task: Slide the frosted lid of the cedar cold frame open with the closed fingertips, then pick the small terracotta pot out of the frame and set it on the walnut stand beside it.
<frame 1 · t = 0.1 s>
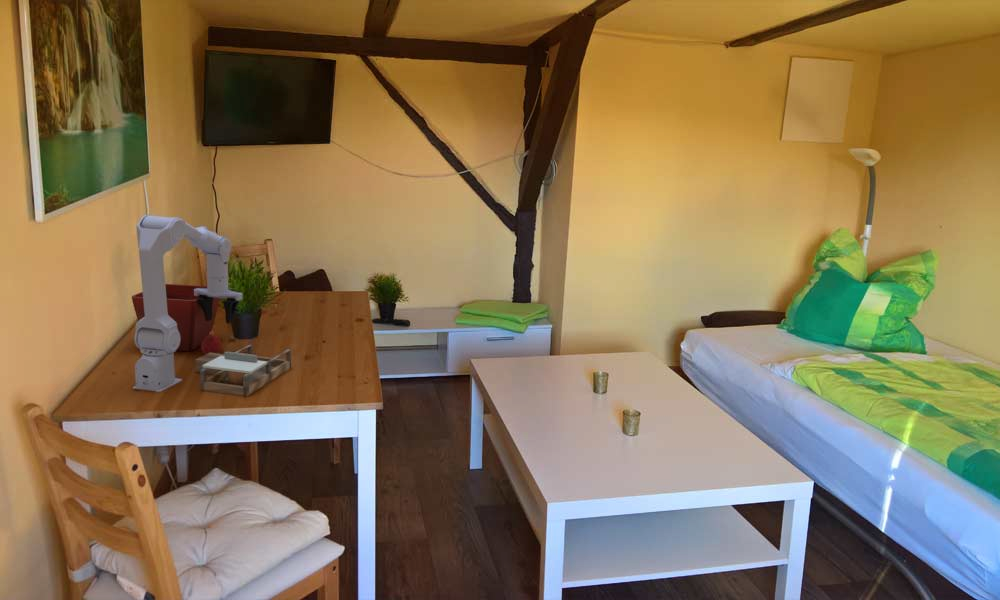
hand: (219, 321, 217), 10 cm above the table, fingers open, 6 cm apart
plant pot: (180, 345, 226), on the table, touching gripper
onion: (212, 358, 216), on the table
stand: (214, 371, 205), on the table
cold frame: (248, 379, 200), on the table
pot: (237, 384, 194), resting on cold frame
lid: (235, 361, 192), point 7 cm above the table, slide at 0.0 cm
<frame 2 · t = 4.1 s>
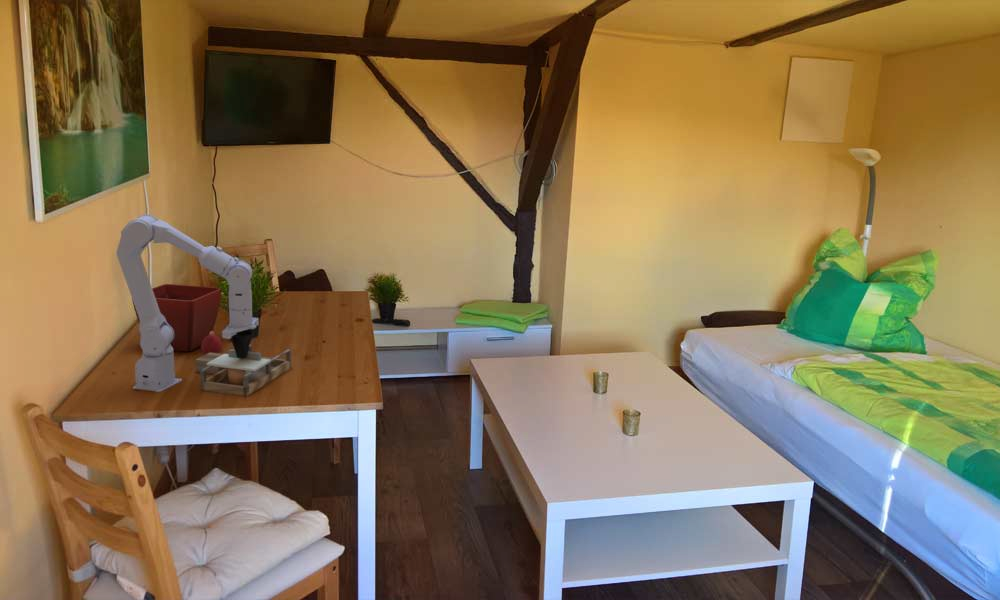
hand: (241, 357, 195), 7 cm above the table, fingers closed
plant pot: (180, 345, 226), on the table
lid: (239, 359, 194), point 7 cm above the table, slide at 1.9 cm, touching gripper
everything else where it was.
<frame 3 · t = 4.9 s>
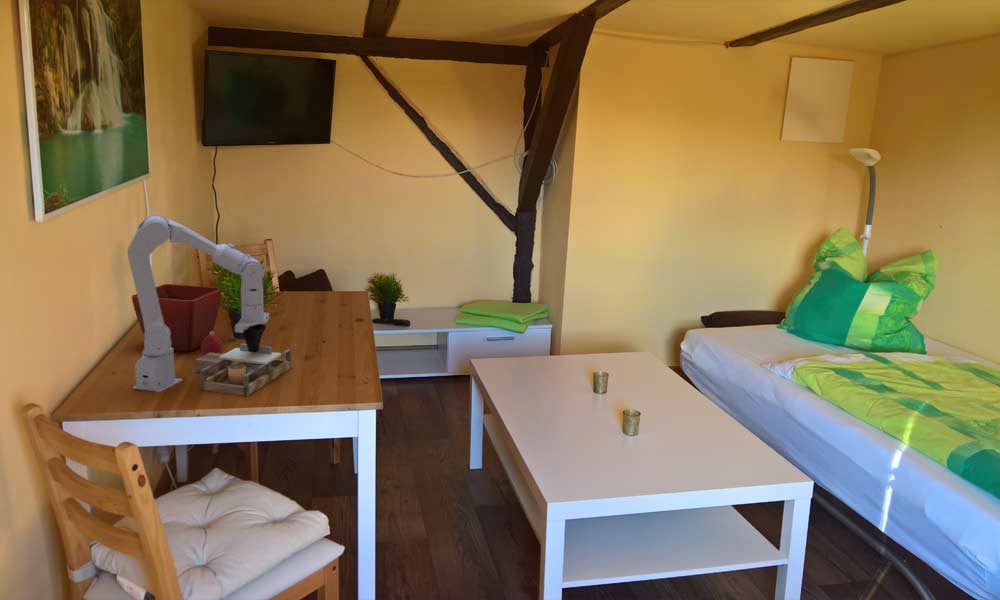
hand: (253, 351, 201), 7 cm above the table, fingers closed
lid: (250, 352, 200), point 7 cm above the table, slide at 7.8 cm, touching gripper
everything else where it was.
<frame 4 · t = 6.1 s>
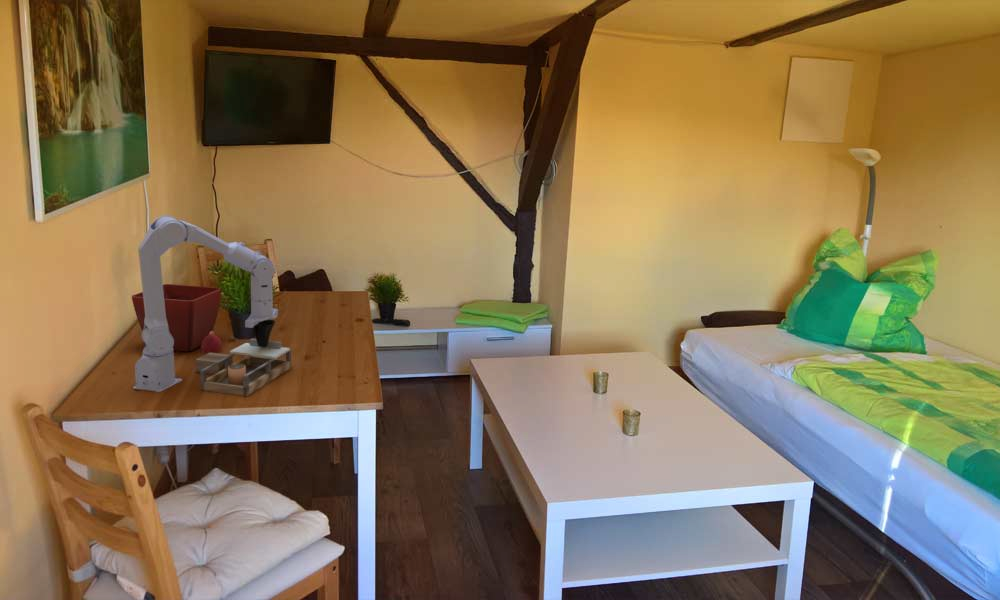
hand: (262, 346, 206), 7 cm above the table, fingers closed
lid: (260, 347, 204), point 7 cm above the table, slide at 12.9 cm, touching gripper
everything else where it was.
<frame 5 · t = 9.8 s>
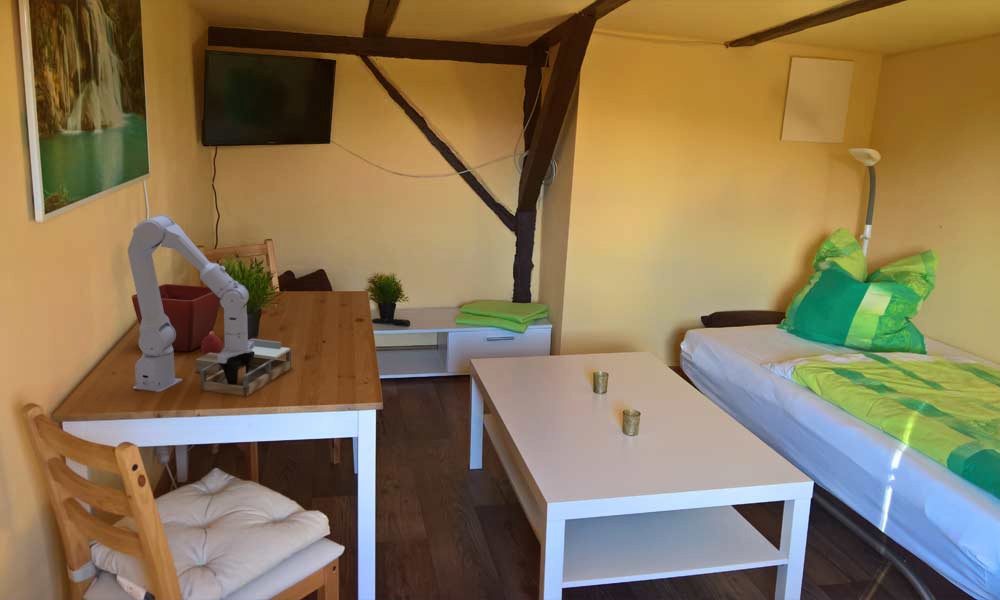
hand: (237, 381, 194), 1 cm above the table, fingers closed on pot, 4 cm apart
pot: (237, 384, 194), resting on cold frame, touching gripper
lid: (260, 347, 204), point 7 cm above the table, slide at 12.9 cm
everything else where it was.
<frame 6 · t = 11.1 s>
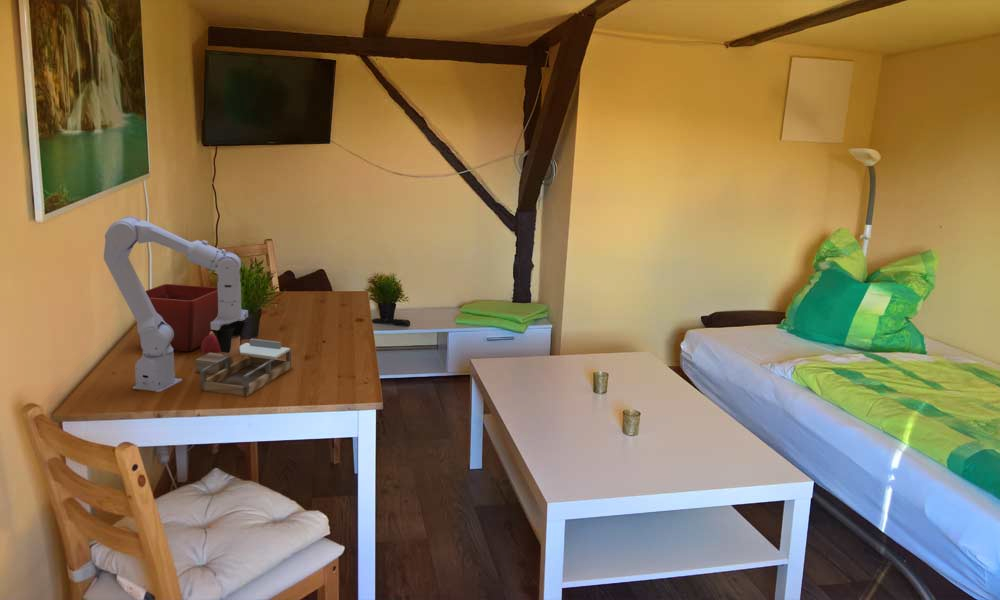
hand: (230, 349, 195), 9 cm above the table, fingers closed on pot, 4 cm apart
pot: (231, 354, 195), point 8 cm above the table, touching gripper
everything else where it was.
when the fingers open (6 cm above the table, at t = 12.8 s): pot stays where it is, resting on stand.
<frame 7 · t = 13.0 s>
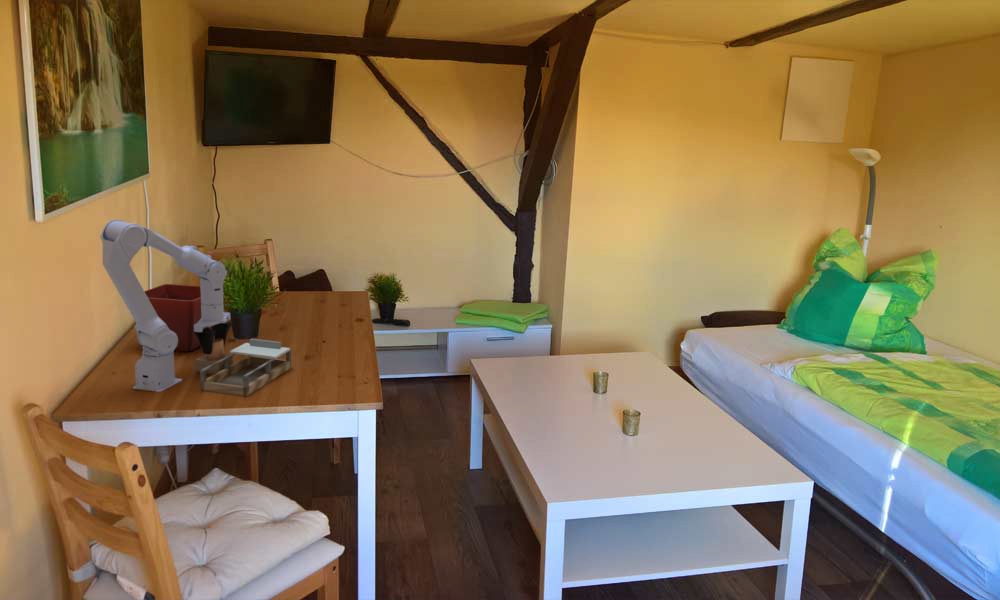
hand: (213, 350, 203), 6 cm above the table, fingers open, 6 cm apart
pot: (215, 357, 204), point 4 cm above the table, touching stand
everything else where it was.
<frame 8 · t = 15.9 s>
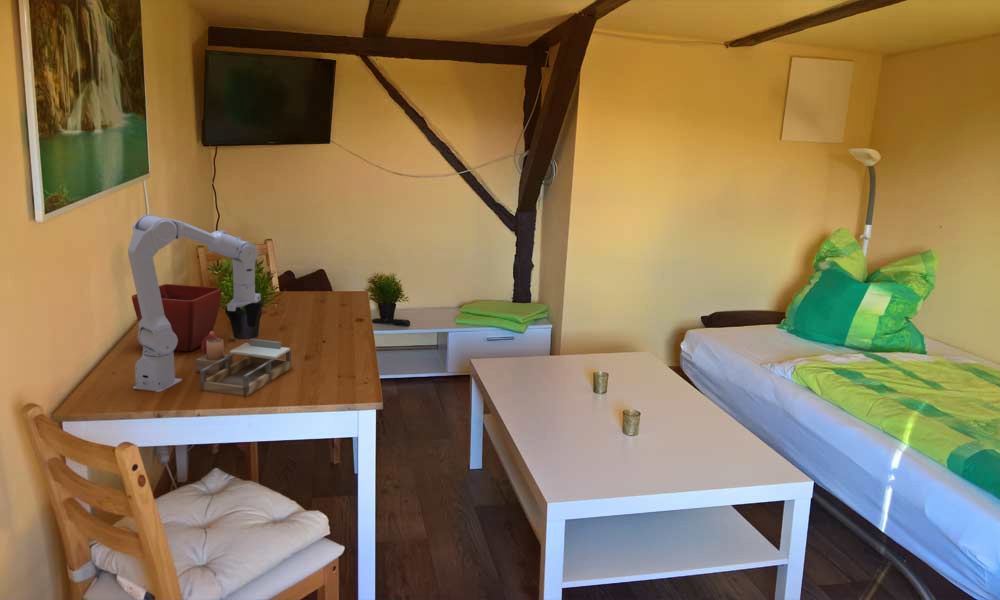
hand: (245, 329, 209), 10 cm above the table, fingers open, 7 cm apart
nothing on the table moved.
at the end: lid slide at 12.9 cm; pot 0.5 cm off-centre on the stand, point 4.0 cm above the stand's base; pot tilted 0° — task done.
